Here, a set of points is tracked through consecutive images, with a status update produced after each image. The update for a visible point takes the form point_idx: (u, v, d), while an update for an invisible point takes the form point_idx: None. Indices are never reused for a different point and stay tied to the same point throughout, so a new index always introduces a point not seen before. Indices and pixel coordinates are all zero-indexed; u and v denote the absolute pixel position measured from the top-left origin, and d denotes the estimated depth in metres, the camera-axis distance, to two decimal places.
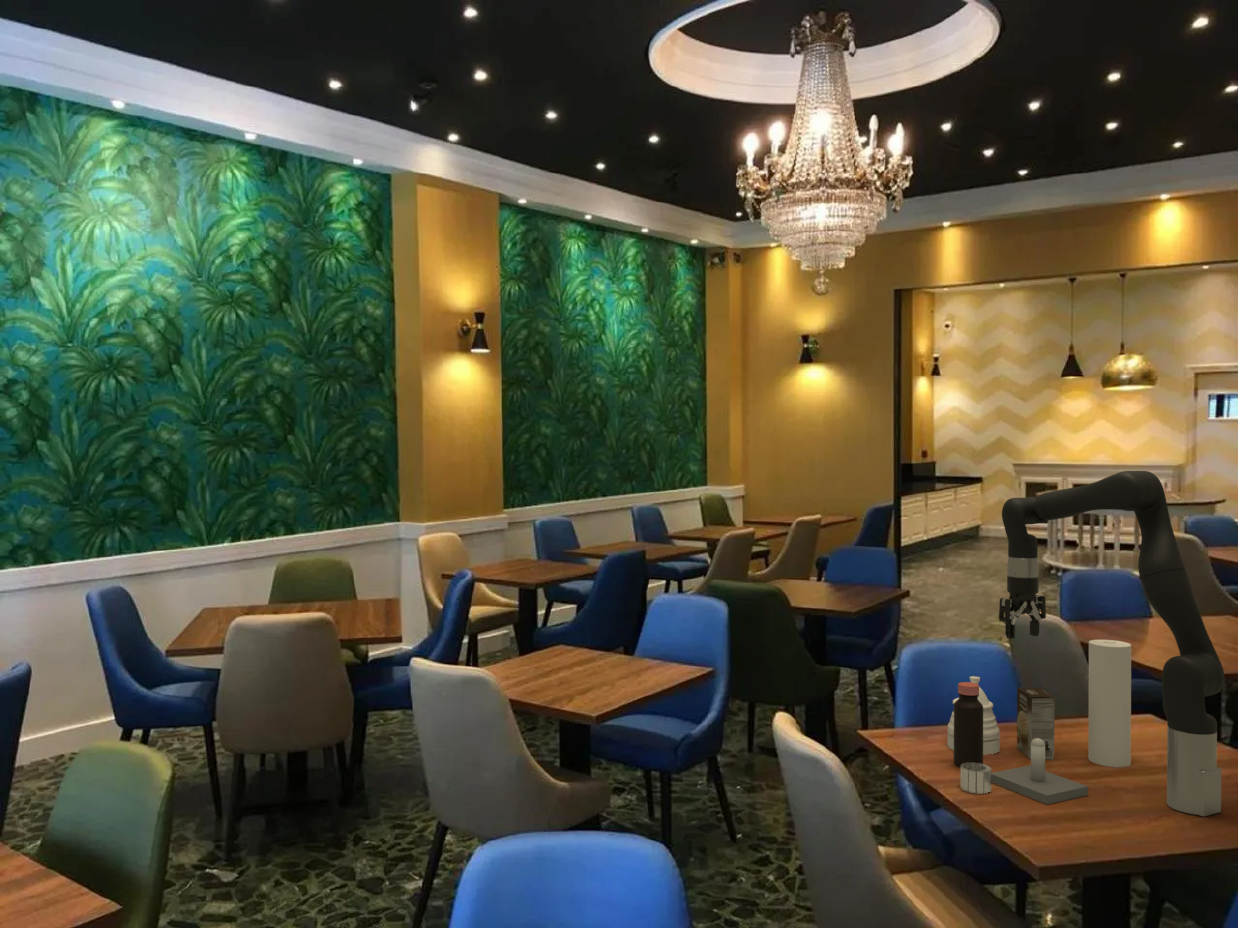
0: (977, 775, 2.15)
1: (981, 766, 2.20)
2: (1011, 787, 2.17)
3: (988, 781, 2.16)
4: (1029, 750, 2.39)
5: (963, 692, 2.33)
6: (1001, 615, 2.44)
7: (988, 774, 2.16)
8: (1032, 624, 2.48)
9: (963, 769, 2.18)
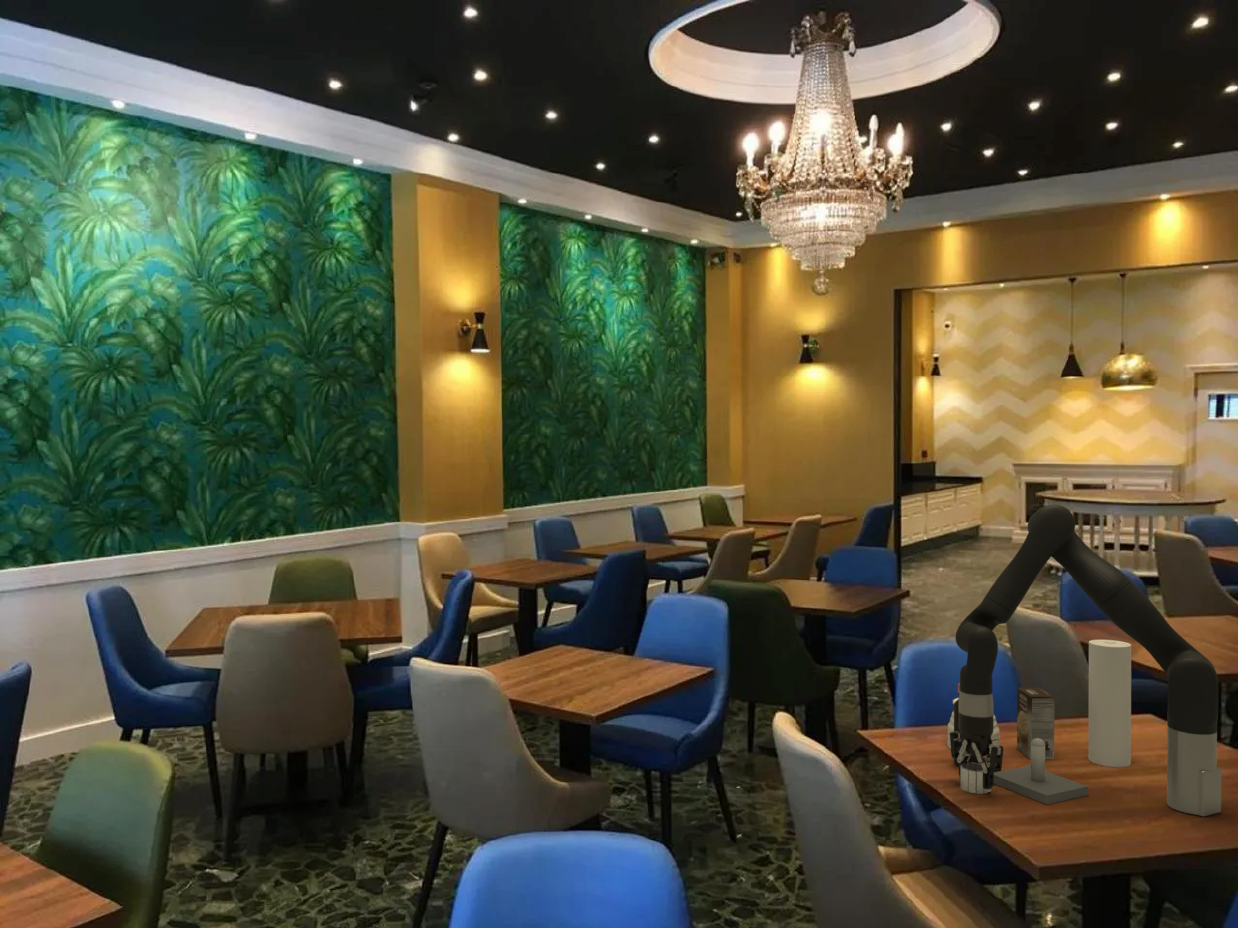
0: (977, 775, 2.15)
1: (981, 766, 2.20)
2: (1011, 787, 2.17)
3: None
4: (1029, 750, 2.39)
5: None
6: None
7: None
8: None
9: (963, 769, 2.18)
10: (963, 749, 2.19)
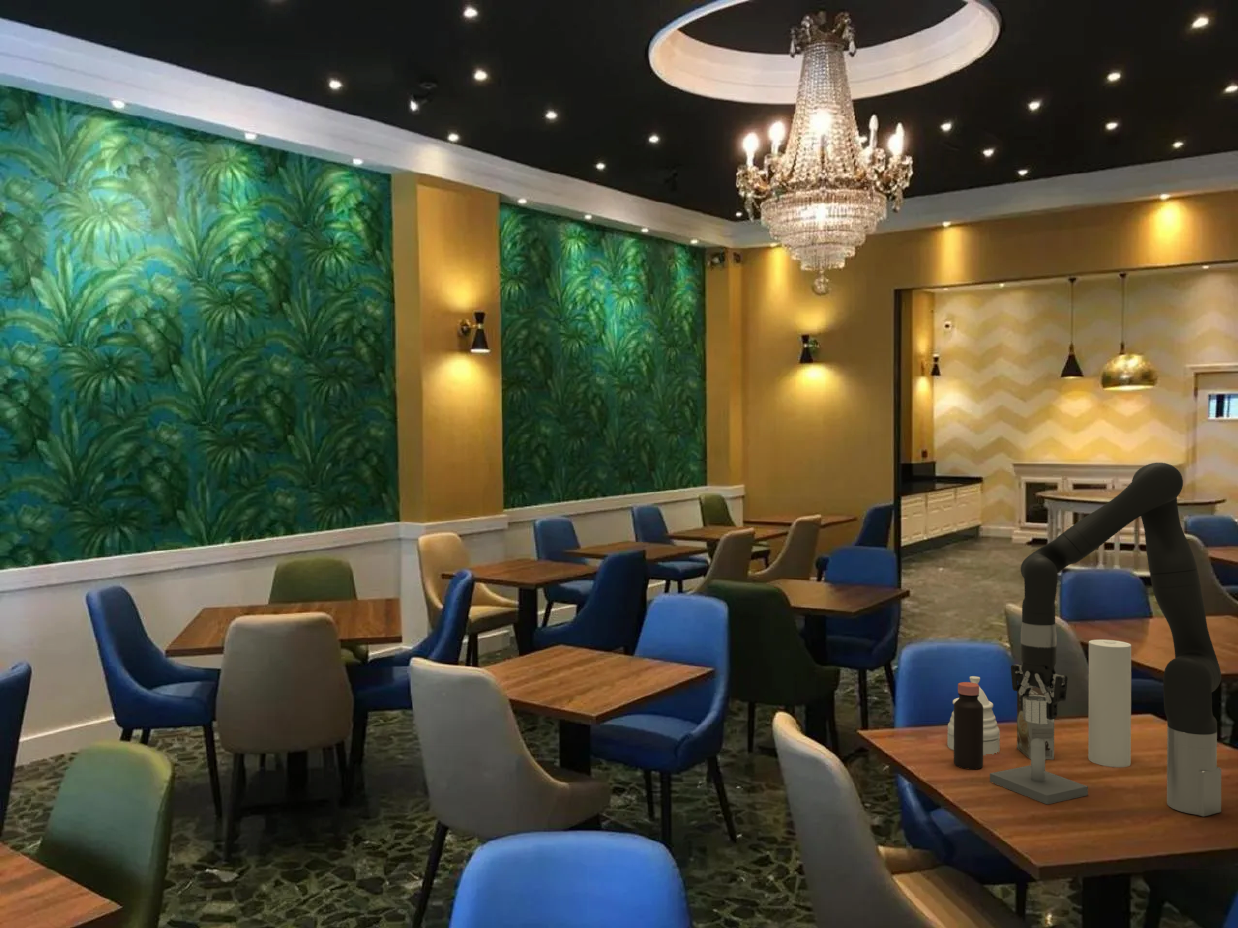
0: (1041, 705, 2.15)
1: (1043, 698, 2.20)
2: (1011, 787, 2.17)
3: None
4: (1029, 750, 2.39)
5: (963, 692, 2.33)
6: None
7: None
8: None
9: (1026, 700, 2.17)
10: (1025, 681, 2.19)
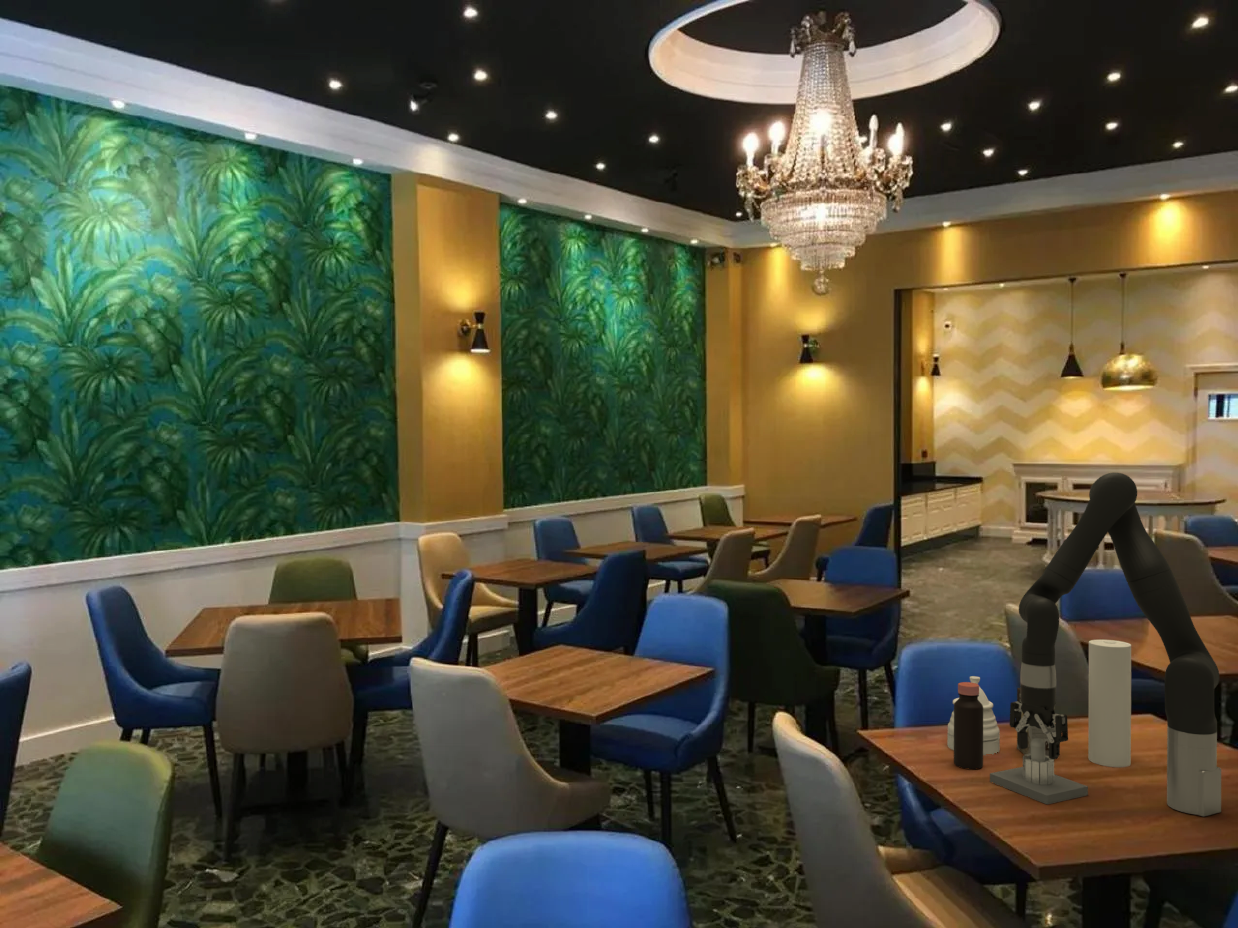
0: (1040, 766, 2.15)
1: None
2: (1011, 787, 2.17)
3: (1051, 772, 2.16)
4: (1029, 750, 2.39)
5: (963, 692, 2.33)
6: None
7: (1051, 765, 2.16)
8: (1023, 736, 2.22)
9: (1026, 760, 2.18)
10: (1024, 720, 2.20)
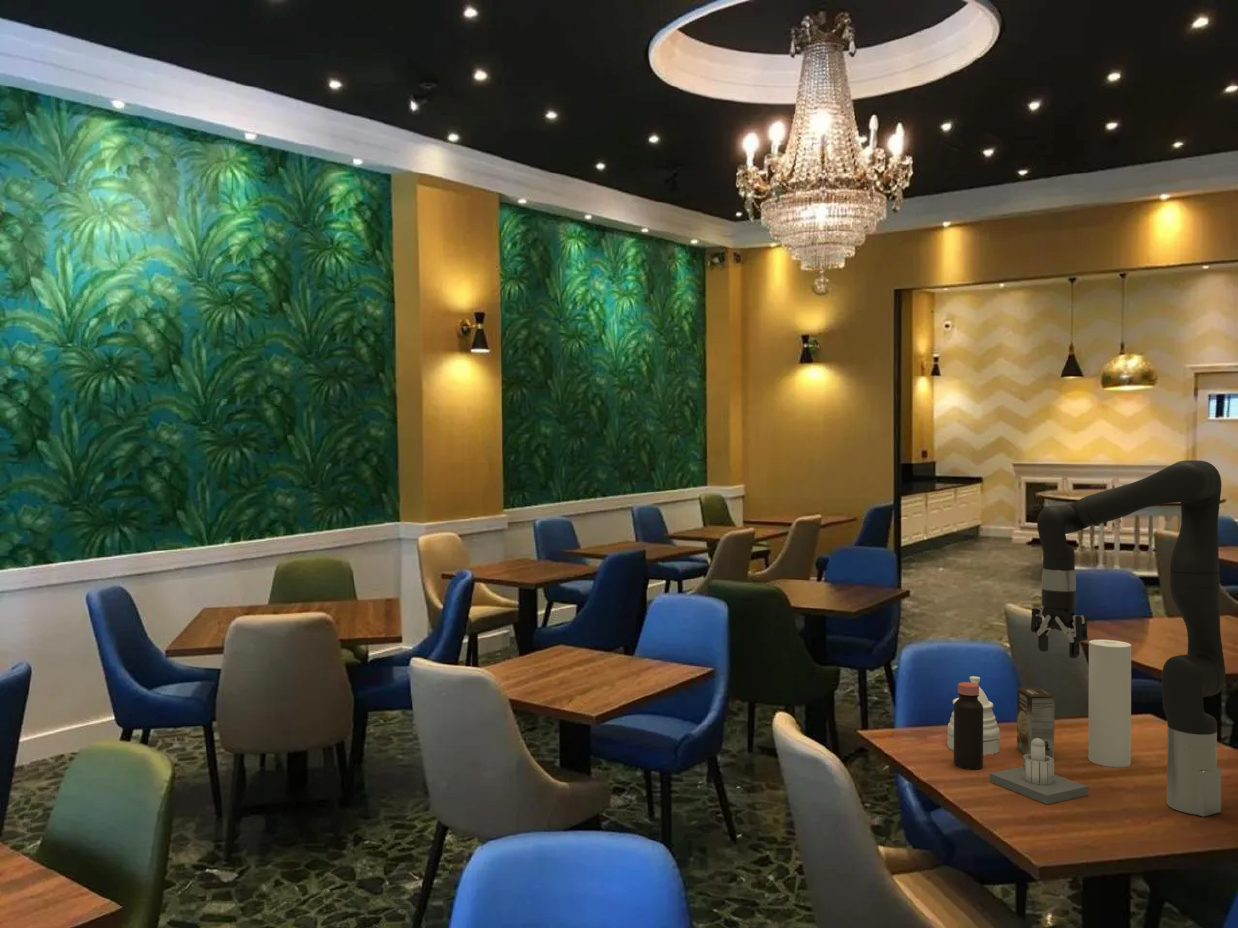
0: (1040, 766, 2.15)
1: None
2: (1011, 787, 2.17)
3: (1051, 772, 2.16)
4: (1029, 750, 2.39)
5: (963, 692, 2.33)
6: None
7: (1051, 765, 2.16)
8: (1044, 639, 2.34)
9: (1026, 760, 2.18)
10: (1045, 623, 2.32)
